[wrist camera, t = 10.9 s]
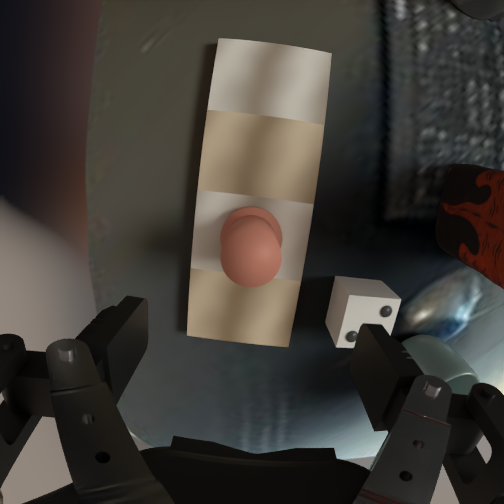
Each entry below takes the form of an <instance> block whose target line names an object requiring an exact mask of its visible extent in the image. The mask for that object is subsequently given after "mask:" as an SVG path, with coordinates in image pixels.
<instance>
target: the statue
mask: <svg viewBox="0 0 504 504" xmlns="http://www.w3.org/2000/svg"><path fill="white" fill-rule="evenodd" d="M435 231H436V234H435V235H436V240H437V243H438V245H439V247H440V248H441V249H442V250H443V251H445V252H446V253H448V254H449V255H451V256H453V257H454V258H456V259H458V260H459V261H461V262H463V263H464V264H466V265H468V266H469V267H471V268H473V269H475V270H476V271H478V272H480V273H481V274H483V275H484V276H485V277H486V278H488V279H489V280H490V281H492V282H493V283H495V284H496V285H498V286H500V287H501V288H503V289H504V171H502V170H496V169H491V168H486V167H482V166H478V165H470V164H454V165H452V166H451V167H450V168H449V170H448V173H447V176H446V179H445V183H444V187H443V192H442V196H441V200H440V204H439V210H438V216H437V222H436V230H435Z"/></svg>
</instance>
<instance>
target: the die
mask: <svg viewBox="0 0 504 504" xmlns="http://www.w3.org/2000/svg"><path fill="white" fill-rule="evenodd" d="M400 302H401V299H400V298H399V297H398V296H397V295H396V294H395V293H394V292H393V291H392V290H391V289H390V288H389V287H388V286H387V285H386V284H384V283H383V282H382V281H380V280H371V279H361V278H351V277H342V276H335V279H334V284H333V289H332V294H331V298H330V303H329V307H328V312H327V316H326V321H325V323H326V325H327V328H328V330H329V332H330V334H331V337H332V339H333V341H334V344H335V346H336V347H341V348H354V346H355V342H356V339H357V335H358V332H359V329H360V326H361V325H362V324H363V323H368V324H382V325H383V326H384V328H385V329H386V331H387V332H388V333H389V335H391V332H392V329H393V326H394V322H395V319H396V316H397V312H398V309H399V306H400Z"/></svg>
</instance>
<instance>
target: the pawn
mask: <svg viewBox="0 0 504 504" xmlns="http://www.w3.org/2000/svg"><path fill="white" fill-rule="evenodd" d="M282 239H283V238H282V231H281V228H280V225H279V223H278V221H277V220H276V218H275V217H274V216H273V215H272V214H271V213H270V212H268V211H267V210H265V209H262V208H259V207H252V206H250V207H243V208H240V209H238V210H236V211H235V212H233V213H232V214H231V215H230V216H229V217H228V218H227V219H226V221H225V223H224V225H223V227H222V230H221V234H220V242H221V247H222V250H221V256H220V260H221V265H222V268H223V271H224V272H225V274H226V275H227V277H228V278H229V279H230V280H232V281H233V282H234V283H236V284H238V285H241V286H244V287H258V286H261V285H264V284H266V283H268V282H269V281H271V280H272V279H273V278H274V277H275V276H276V274H277V273H278V271H279V269H280V266H281V261H282V254H281V250H280V249H281V246H282Z"/></svg>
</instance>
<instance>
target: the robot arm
mask: <svg viewBox="0 0 504 504" xmlns="http://www.w3.org/2000/svg"><path fill="white" fill-rule="evenodd" d="M450 1H451V2H452V3H453V4H454V5H455V6H457V7H458V8H459V9H460V10H461V11H463V12H464V13H466V14H467V15H469V16H471V17H473V18H476V19H479V20H485V19H490V20H491V21H493V22H494V21H497V20H499V19H501V18H503V17H504V0H450ZM147 344H148V303H147V299H145V298H139V297H133V296H126V297H125V298H124V299H123V300H122V301H121V302H120V303H119V304H118V305H117V306H111V307H109V308H106V309H104V310H102V311H101V312H100V313H99V314H98V315H97V316H96V318H95V319H93V320H92V321H91V323H90V324H89V325H88V326H86V328H85V329H84V330H83V331H82V332H81V333H80V334H79V335H78V336H77V337H76V338H75V339H61V340H57V341H55V342H53V343H51V344H50V345H49V346H48V347H47V349H46V352H39V351H27V350H26V348H25V344H24V340H23V339H22V338H21V337H20V336H18V335H15V334H2V335H0V393H1V392H2V395H3V397H4V400H3V401H2V403H1V404H0V488H1V486H2V484H3V482H4V480H5V479H6V477H7V475H8V473H9V471H10V470H11V468H12V466H13V464H14V463H15V461H16V459H17V457H18V456H19V454H20V452H21V450H22V449H23V447H24V445H25V444H26V442H27V440H28V439H29V437H30V435H31V434H32V432H33V431H34V429H35V427H36V426H37V424H38V422H39V421H40V419H41V418H42V416H45V417H54V418H55V420H56V425H57V429H58V433H59V437H60V441H61V445H62V449H63V452H64V456H65V459H66V462H67V466H68V468H69V472H70V475H71V478H72V481H73V483H71V484H69V485H66V486H64V487H62V488H60V489H57V490H55V491H53V492H51V493H48V494H46V495H43V496H41V497H38V498H36V499H33V500H31V501H28V502H25V503H23V504H430V501H431V499H432V495H433V493H434V490H435V486H436V483H437V480H438V477H439V473H440V470H441V467H442V464H443V466H444V468H445V470H446V473H447V475H448V477H449V480H450V482H451V484H452V487H453V489H454V491H455V493H456V496H457V498H458V501H459V503H460V504H504V395H503V394H502V393H501V392H500V391H499V390H498V389H497V388H496V387H494V386H492V385H490V384H487V383H476V384H474V385H473V386H472V388H471V390H470V392H469V394H468V395H463V394H455V393H452V389H451V387H450V386H449V384H448V383H447V382H445V381H444V380H442V379H440V378H438V377H436V376H432V375H425V374H424V373H423V371H422V370H421V369H420V367H419V366H418V365H417V363H416V362H415V360H414V359H412V356H411V355H410V354H409V353H407V350H406V348H405V347H404V346H403V344H402V343H400V342H399V341H398V340H396V339H395V338H393V337H391V336H390V335H389V333H388V332H387V331H386V329H385V328H384V326H383V325H382V324H368V323H363V324H362V325H361V326H360V329H359V332H358V335H357V339H356V342H355V346H354V349H353V352H352V355H351V359H350V373H351V376H352V378H353V381H354V383H355V385H356V388H357V390H358V393H359V395H360V397H361V400H362V402H363V405H364V407H365V410H366V412H367V415H368V417H369V419H370V422H371V424H372V427H373V429H374V431H385V430H387V431H388V435H387V437H386V438H385V440H384V442H383V444H382V446H381V448H380V450H379V452H378V453H377V455H376V457H375V459H374V461H373V462H372V464H371V466H370V468H369V469H366V468H365V467H362V466H360V465H357V464H355V463H352V462H349V461H345V460H341V459H337V458H336V454H335V450H334V448H294V449H288V450H282V451H275V452H268V453H261V454H253V453H249V452H245V451H242V450H238V449H235V448H231V447H228V446H225V445H222V444H218V443H215V442H210V441H203V440H196V439H190V438H184V437H178V436H173V440H172V443H171V446H168V447H155V448H149V449H145V450H141V451H139V450H138V448H137V446H136V445H135V443H134V441H133V439H132V437H131V435H130V433H129V431H128V429H127V427H126V425H125V423H124V421H123V419H122V417H121V414H120V412H119V410H118V408H117V406H116V405H117V403H118V401H119V399H120V397H121V395H122V393H123V392H124V390H125V388H126V386H127V384H128V382H129V380H130V379H131V377H132V375H133V373H134V371H135V369H136V368H137V366H138V364H139V362H140V360H141V359H142V357H143V355H144V353H145V351H146V349H147ZM483 435H485V437H486V438H487V440H488V442H489V443H490V445H491V448H492V454H491V458H490V460H489V461H488V463H487V464H486V463H485V461H484V459H483V458H482V456H481V454H480V452H479V451H478V449H477V447H476V445H477V444H478V442H479V441H480V439H481V438H482V436H483ZM0 504H3V495H2V492H1V490H0Z"/></svg>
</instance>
